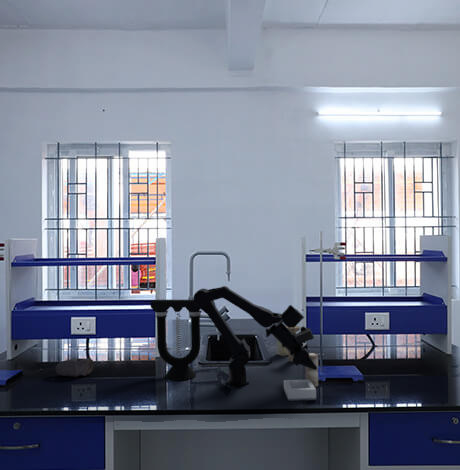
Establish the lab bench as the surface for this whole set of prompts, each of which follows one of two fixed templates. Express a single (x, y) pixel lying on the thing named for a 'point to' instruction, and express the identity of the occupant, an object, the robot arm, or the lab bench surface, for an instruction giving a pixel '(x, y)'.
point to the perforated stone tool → (75, 367)
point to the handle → (295, 333)
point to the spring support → (179, 365)
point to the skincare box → (281, 349)
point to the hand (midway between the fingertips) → (315, 366)
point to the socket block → (299, 390)
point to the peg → (312, 373)
